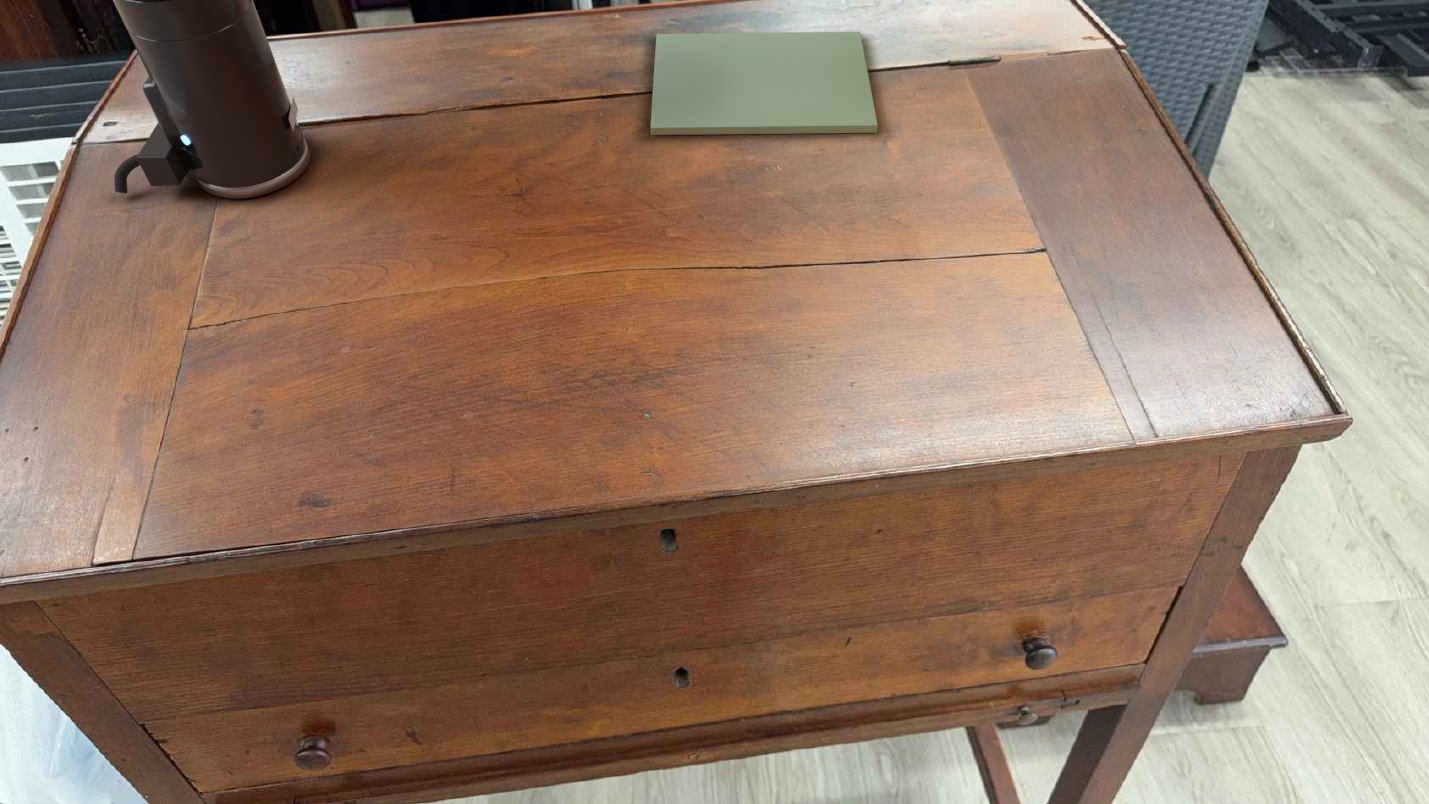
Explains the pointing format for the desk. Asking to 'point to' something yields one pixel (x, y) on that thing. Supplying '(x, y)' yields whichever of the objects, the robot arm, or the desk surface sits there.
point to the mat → (761, 84)
